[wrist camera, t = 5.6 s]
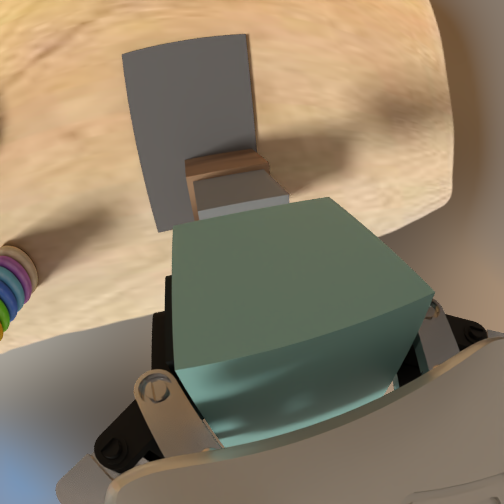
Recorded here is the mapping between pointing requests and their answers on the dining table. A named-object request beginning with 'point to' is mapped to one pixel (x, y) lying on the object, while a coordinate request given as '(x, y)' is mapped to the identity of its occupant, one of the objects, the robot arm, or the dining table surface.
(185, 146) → the mat
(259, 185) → the tower mid
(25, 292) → the stacking toy
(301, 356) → the teal cube
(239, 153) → the tower base
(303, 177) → the dining table surface
